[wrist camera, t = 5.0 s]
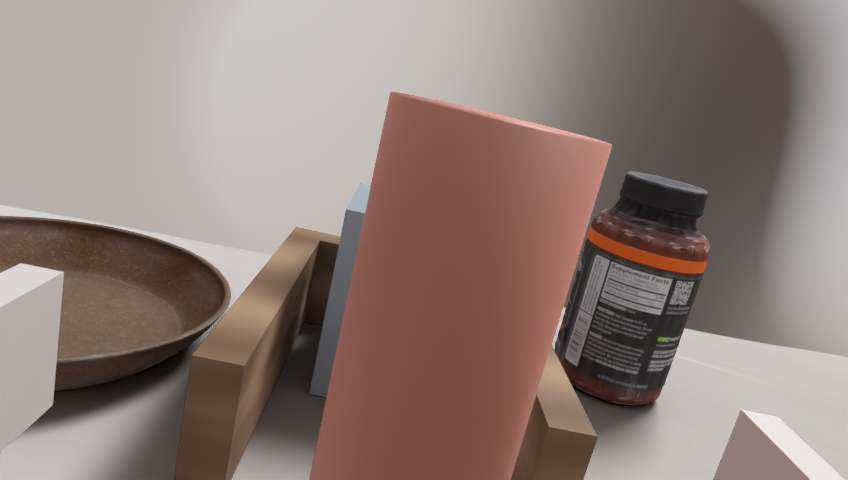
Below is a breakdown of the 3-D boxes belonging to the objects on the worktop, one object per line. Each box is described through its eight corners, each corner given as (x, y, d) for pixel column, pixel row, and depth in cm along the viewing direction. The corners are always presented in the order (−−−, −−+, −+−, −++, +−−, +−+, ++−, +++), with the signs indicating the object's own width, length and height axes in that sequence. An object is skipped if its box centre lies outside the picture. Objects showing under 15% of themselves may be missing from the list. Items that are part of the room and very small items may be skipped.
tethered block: (329, 335, 31) (381, 77, 28) (443, 358, 32) (508, 107, 28) (170, 799, 11) (294, 73, 8) (491, 848, 12) (731, 175, 8)
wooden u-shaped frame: (281, 305, 33) (296, 227, 32) (494, 349, 34) (515, 274, 33) (172, 489, 18) (191, 355, 17) (556, 560, 19) (597, 436, 18)
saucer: (272, 316, 33) (281, 268, 32) (80, 483, 18) (89, 404, 18) (20, 245, 34) (23, 198, 33) (-343, 349, 20) (-350, 270, 19)
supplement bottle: (570, 346, 37) (626, 165, 35) (668, 388, 35) (738, 195, 32) (531, 372, 32) (593, 164, 30) (642, 425, 30) (722, 199, 27)
